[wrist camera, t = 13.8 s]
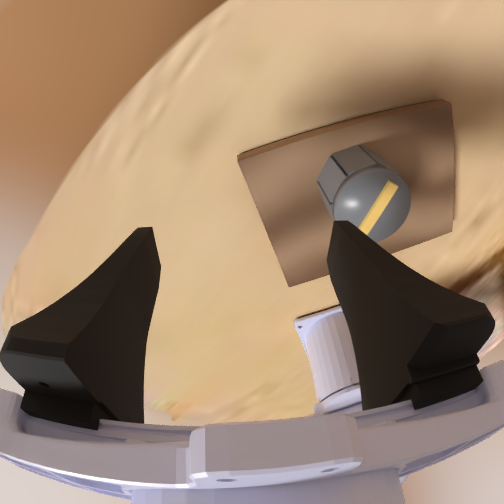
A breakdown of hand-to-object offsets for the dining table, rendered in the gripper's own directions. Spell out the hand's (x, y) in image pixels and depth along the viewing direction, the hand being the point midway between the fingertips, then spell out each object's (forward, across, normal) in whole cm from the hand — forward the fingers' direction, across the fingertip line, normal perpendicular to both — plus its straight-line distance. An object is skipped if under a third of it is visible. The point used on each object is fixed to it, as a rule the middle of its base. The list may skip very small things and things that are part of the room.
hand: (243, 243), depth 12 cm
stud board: (+10, -10, +3) cm, 14 cm away
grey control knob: (+9, -8, +1) cm, 12 cm away
